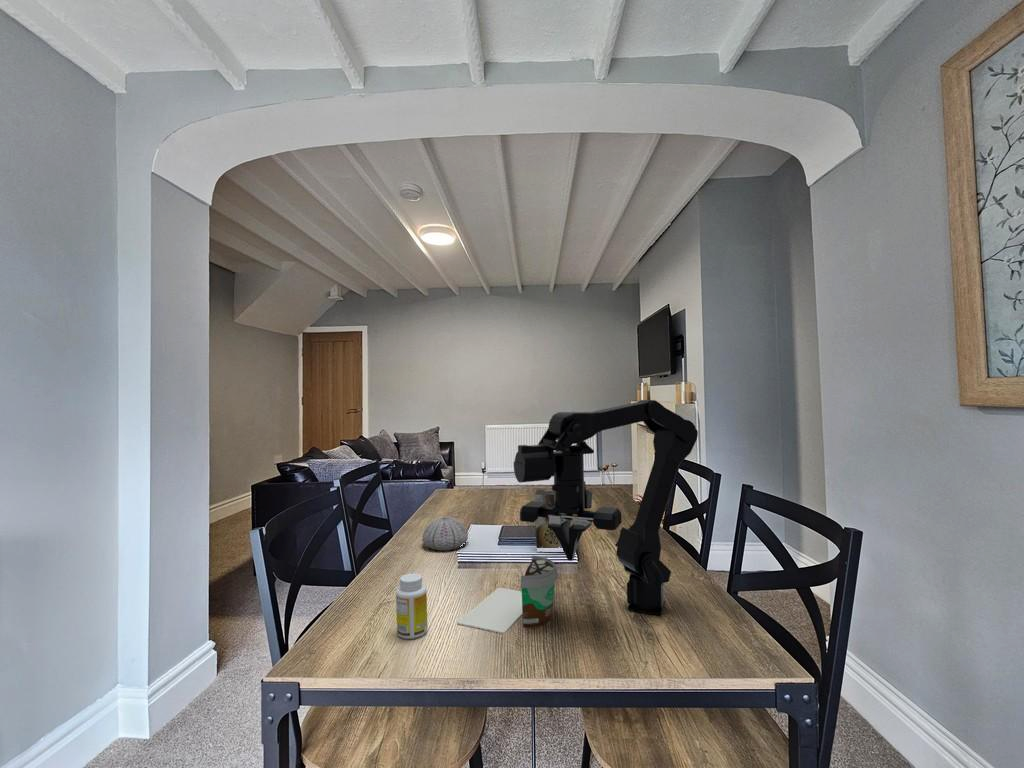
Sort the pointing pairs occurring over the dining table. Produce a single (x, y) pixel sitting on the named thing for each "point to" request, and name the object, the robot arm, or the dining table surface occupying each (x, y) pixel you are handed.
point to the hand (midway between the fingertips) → (570, 559)
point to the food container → (538, 592)
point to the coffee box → (545, 522)
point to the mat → (496, 611)
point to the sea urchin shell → (445, 534)
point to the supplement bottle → (411, 607)
